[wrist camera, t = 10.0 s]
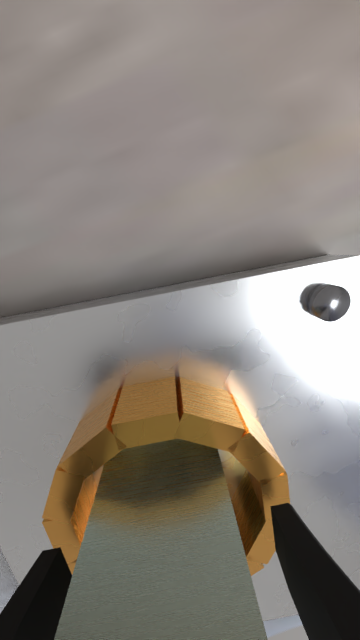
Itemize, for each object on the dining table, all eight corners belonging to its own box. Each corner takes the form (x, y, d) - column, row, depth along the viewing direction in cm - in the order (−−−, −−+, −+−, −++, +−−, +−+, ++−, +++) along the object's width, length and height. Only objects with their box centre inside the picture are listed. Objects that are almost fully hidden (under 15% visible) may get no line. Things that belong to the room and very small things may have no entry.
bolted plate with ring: (328, 254, 12) (421, 257, 8) (338, 562, 17) (396, 667, 13) (-60, 329, 12) (-188, 375, 8) (69, 615, 17) (37, 738, 13)
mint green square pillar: (209, 418, 12) (304, 779, 4) (223, 495, 13) (317, 893, 5) (111, 437, 12) (-3, 838, 4) (134, 512, 13) (84, 940, 5)
